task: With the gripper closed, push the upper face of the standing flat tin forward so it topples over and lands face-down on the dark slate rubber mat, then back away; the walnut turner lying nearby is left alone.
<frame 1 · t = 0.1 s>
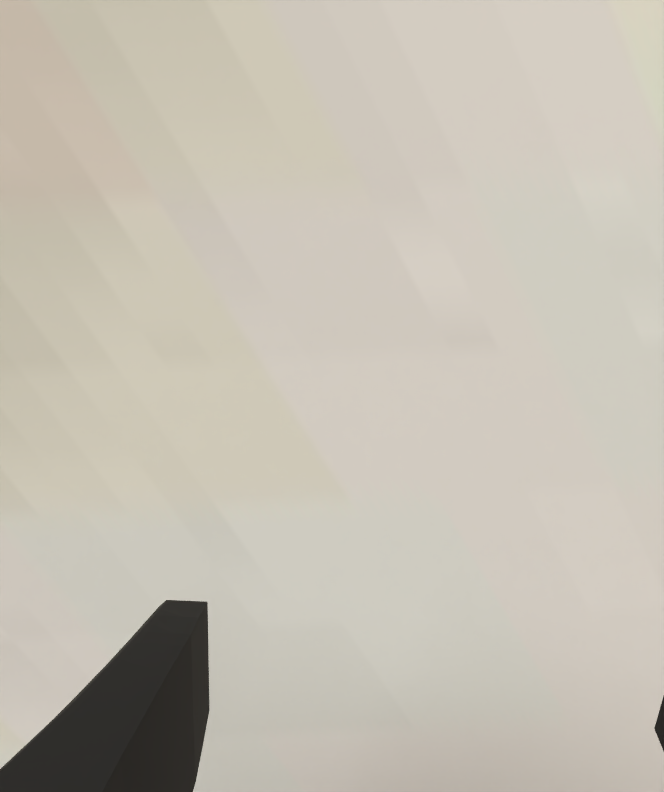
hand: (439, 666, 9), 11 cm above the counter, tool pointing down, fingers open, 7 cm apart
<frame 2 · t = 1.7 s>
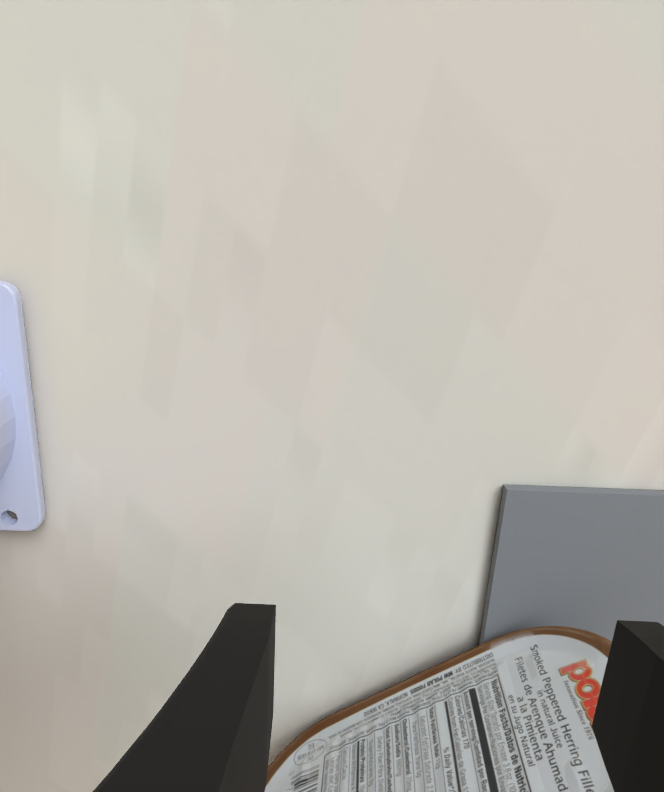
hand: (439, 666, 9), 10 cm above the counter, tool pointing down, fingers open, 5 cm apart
mat: (576, 690, 22), on the counter
tin: (420, 688, 22), on the counter, touching mat
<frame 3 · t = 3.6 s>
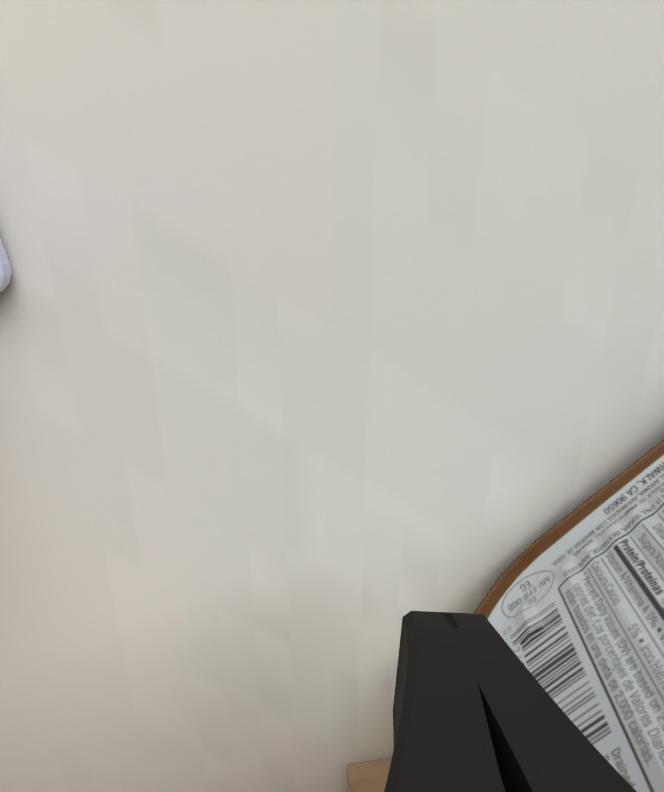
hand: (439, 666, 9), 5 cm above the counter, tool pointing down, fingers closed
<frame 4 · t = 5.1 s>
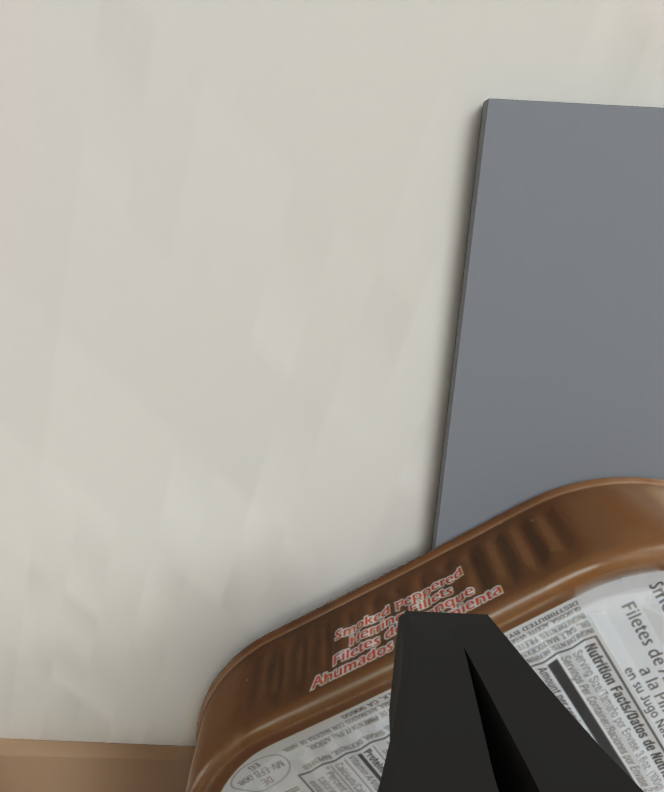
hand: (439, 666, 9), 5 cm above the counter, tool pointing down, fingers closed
mat: (608, 516, 14), on the counter
tin: (392, 609, 12), point 2 cm above the counter, touching mat
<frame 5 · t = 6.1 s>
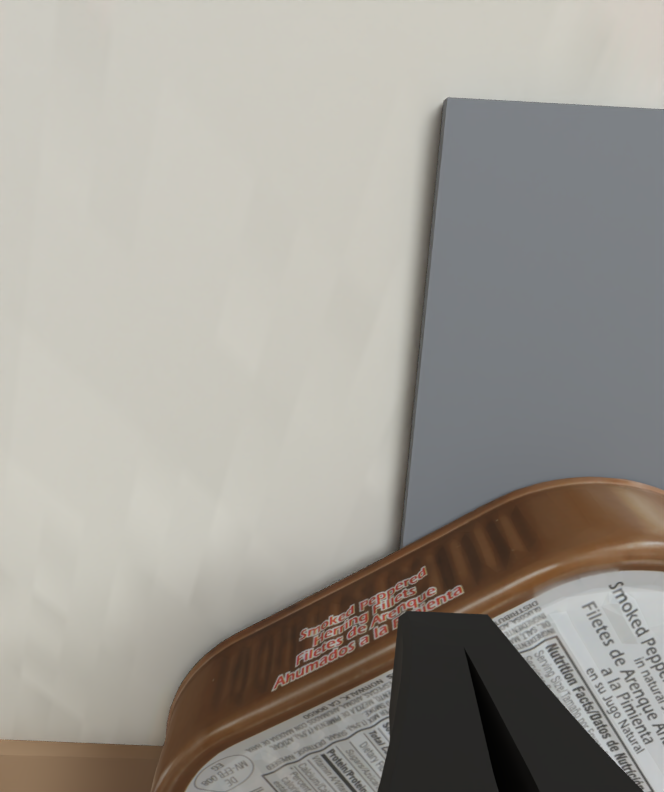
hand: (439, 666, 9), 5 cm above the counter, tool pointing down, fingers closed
mat: (576, 516, 14), on the counter
tin: (355, 609, 12), point 2 cm above the counter, touching mat
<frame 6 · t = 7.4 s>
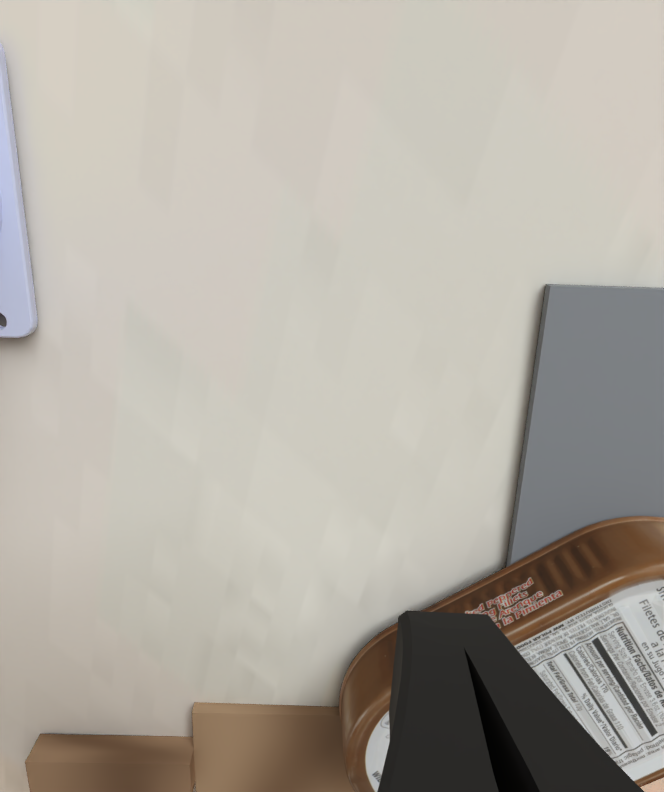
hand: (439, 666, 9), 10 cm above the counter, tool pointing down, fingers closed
mat: (628, 541, 20), on the counter
turner: (197, 752, 23), on the counter
tin: (487, 606, 19), point 2 cm above the counter, touching mat
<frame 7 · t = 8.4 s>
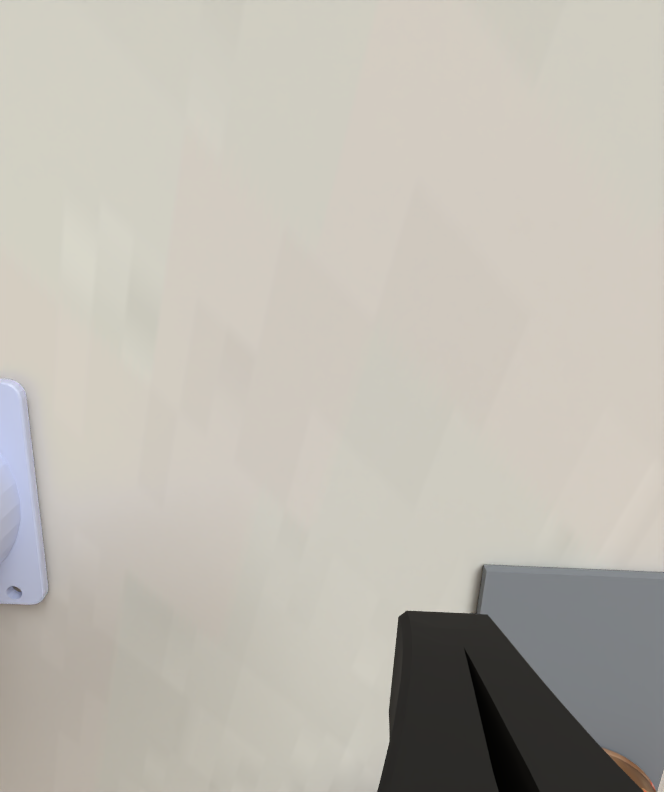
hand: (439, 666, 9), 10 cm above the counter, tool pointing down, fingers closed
mat: (557, 755, 23), on the counter
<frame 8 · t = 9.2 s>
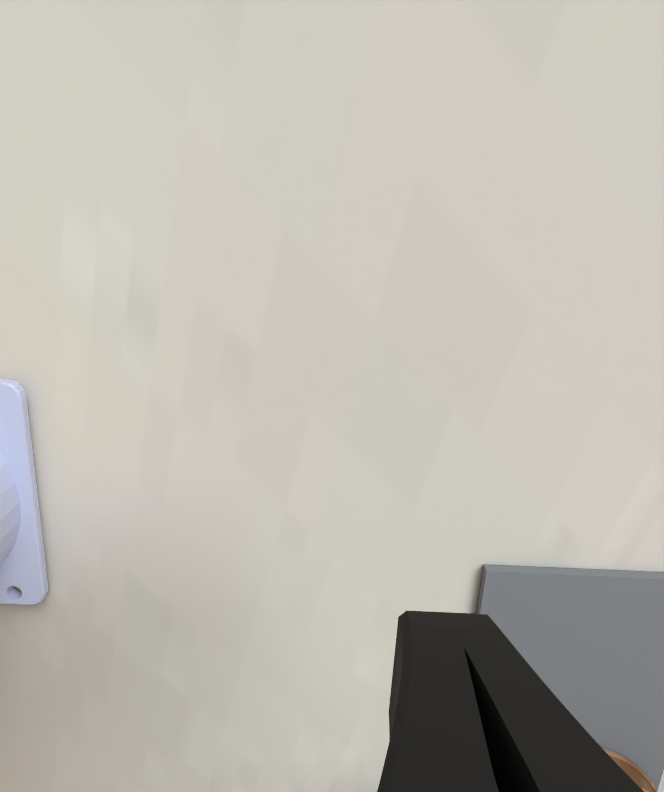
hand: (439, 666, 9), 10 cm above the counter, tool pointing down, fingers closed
mat: (557, 755, 23), on the counter
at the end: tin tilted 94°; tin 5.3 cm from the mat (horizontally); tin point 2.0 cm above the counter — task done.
